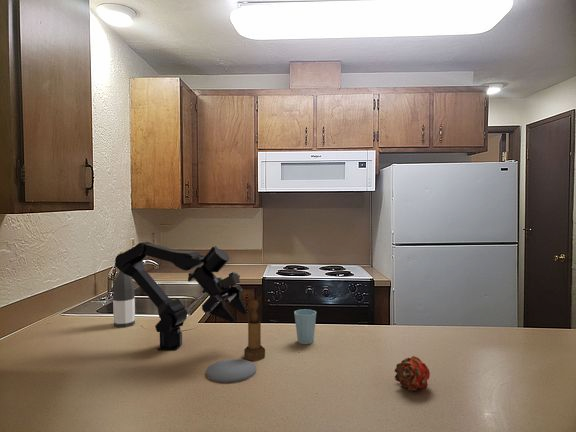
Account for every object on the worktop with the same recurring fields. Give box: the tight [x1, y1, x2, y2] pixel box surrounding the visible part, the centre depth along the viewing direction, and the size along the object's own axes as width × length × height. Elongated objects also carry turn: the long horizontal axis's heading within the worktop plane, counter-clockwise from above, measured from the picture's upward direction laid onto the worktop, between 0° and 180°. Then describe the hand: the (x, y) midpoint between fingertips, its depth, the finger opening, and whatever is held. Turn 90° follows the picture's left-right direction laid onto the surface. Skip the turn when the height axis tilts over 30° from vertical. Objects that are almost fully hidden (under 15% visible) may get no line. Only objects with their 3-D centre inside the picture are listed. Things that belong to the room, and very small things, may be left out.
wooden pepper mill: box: [243, 299, 266, 361], centre depth 125 cm, size 7×6×18 cm
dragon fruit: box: [394, 355, 431, 392], centre depth 103 cm, size 8×8×12 cm
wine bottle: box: [112, 250, 136, 329], centre depth 161 cm, size 8×8×30 cm
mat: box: [206, 358, 257, 384], centre depth 114 cm, size 14×14×1 cm
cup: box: [293, 308, 317, 345], centre depth 139 cm, size 8×8×10 cm
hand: (240, 317), depth 127 cm, fingers open, 9 cm apart
